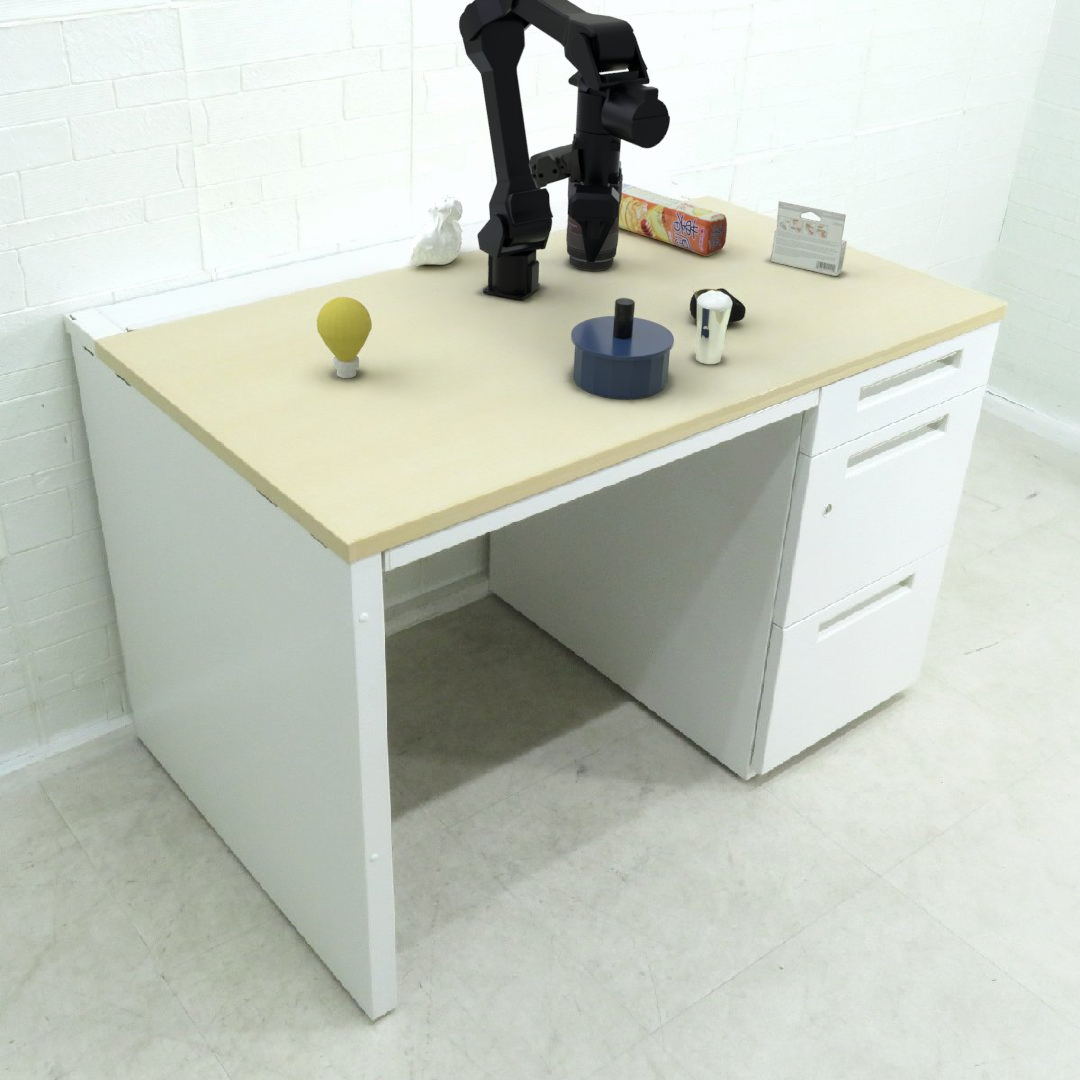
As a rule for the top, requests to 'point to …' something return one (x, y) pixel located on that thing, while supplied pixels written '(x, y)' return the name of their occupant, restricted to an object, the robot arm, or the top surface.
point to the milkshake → (711, 325)
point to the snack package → (672, 221)
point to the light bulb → (344, 332)
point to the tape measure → (736, 310)
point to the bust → (439, 234)
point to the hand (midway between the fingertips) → (591, 249)
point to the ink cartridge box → (809, 239)
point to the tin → (620, 376)
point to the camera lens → (577, 247)
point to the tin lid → (622, 335)
